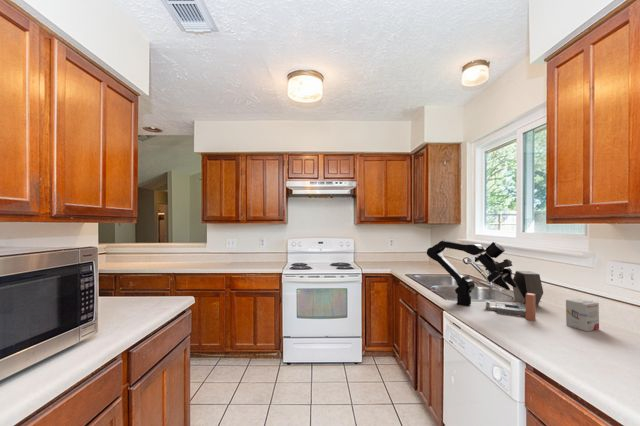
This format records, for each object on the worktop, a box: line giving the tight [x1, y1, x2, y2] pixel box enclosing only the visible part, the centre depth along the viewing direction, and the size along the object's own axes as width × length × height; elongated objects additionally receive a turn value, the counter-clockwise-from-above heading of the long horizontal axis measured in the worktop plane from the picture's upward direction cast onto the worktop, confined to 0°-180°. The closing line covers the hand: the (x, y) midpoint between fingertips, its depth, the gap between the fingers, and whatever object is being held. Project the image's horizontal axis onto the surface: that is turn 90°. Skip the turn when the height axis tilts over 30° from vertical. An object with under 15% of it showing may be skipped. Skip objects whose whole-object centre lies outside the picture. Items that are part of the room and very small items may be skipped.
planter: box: [512, 270, 544, 306], centre depth 179 cm, size 17×8×21 cm
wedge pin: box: [525, 293, 537, 322], centre depth 150 cm, size 3×4×12 cm
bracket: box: [485, 300, 497, 312], centre depth 164 cm, size 5×2×4 cm, turn 62°
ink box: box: [565, 298, 600, 332], centre depth 139 cm, size 9×9×12 cm
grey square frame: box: [495, 301, 526, 318], centre depth 162 cm, size 14×14×2 cm
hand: (512, 288), depth 155 cm, fingers open, 9 cm apart
